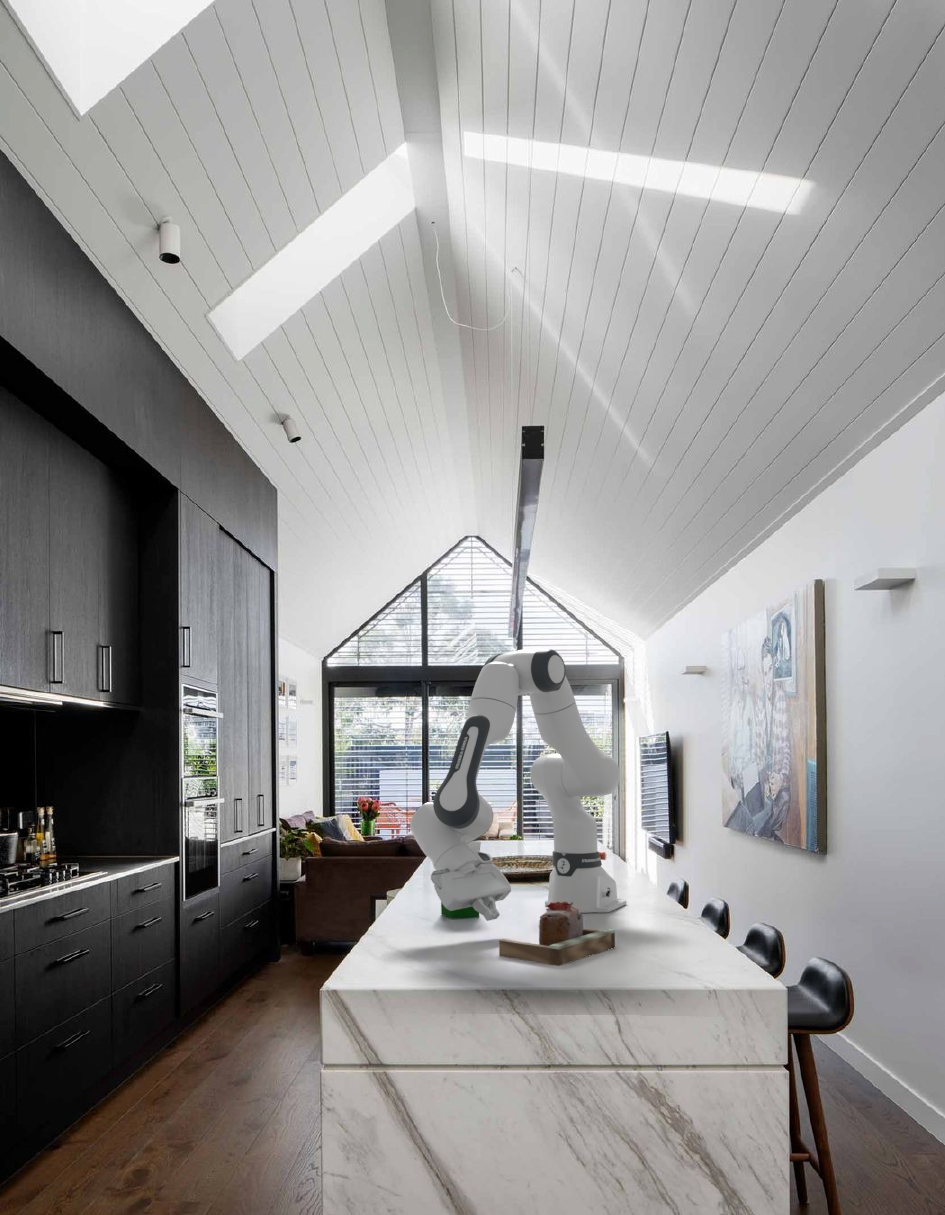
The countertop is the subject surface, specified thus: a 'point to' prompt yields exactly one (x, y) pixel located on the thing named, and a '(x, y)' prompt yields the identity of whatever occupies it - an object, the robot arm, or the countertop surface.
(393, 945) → the countertop surface
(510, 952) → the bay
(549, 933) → the food item
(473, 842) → the milk carton
